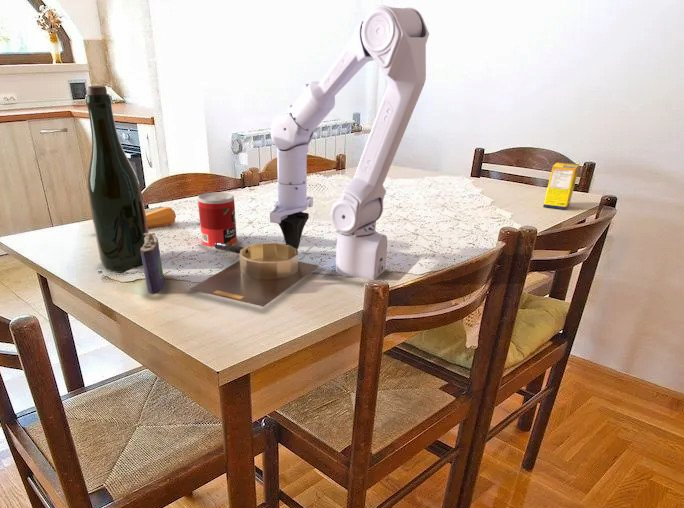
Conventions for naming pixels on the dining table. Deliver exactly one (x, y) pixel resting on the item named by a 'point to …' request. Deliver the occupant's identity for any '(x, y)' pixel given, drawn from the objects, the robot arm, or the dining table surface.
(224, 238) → the canned food
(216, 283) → the board
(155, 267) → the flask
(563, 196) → the supplement box
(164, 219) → the carrot
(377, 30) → the robot arm
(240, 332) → the dining table surface
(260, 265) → the pan
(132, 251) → the green wine bottle
